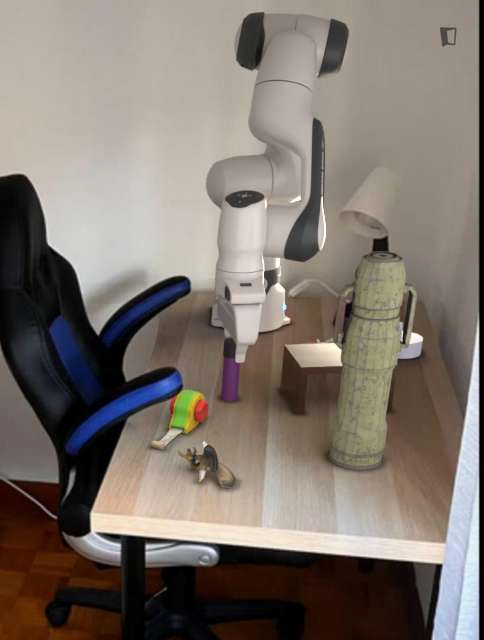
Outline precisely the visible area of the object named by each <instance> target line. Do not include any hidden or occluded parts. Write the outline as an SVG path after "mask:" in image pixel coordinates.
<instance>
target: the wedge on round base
mask: <svg viewBox="0 0 484 640" xmlns="http://www.w3.org/2000/svg"><path fill="white" fill-rule="evenodd" d="M399 323H400V328H401V341H402V342H403V340H402V337H403V329H404V321H399ZM423 341H424V337H423V336H422V335H420V334H418V333H416V332H412V333H411V338H410V342H409V346H408V348H404V349H401V352H399V353H398V359H399V360H400V359H401V360H405V359H406V360H407V359H414V358H417V357H420V356H421V353H422V347H423Z"/></svg>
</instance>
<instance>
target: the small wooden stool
mask: <svg viewBox="0 0 484 640" xmlns="http://www.w3.org/2000/svg"><path fill="white" fill-rule="evenodd" d="M341 351H342V350H340V349H339V348H338V347H337V346H336V344H335V343H334V342H331V343H323V344H302V343H301V344H300V343H298V344H297V343H295V344H294V343H293V344H284V345H283V355H282V365H281V366H282V367H281V375H280V387H279V390H280V392H281V393H282V395H283V397H284V398H285V400H286V402H287V403H288V404H289V406H290V407H291V409H292V411H293V412H294V413H295V415H304V414H305V408H306V398H307V390H308V382H309V380H308V379H309V375H336V374H337V375H338V374H340V375H341V374H342V367H343V366H342V363H341ZM398 368H399V364H398V363H397V364H396V366H395V367H394V369H393V372H392V379H391V385H390V392H389V398H388V405H387V411H386V413H389V412H392V407H393V400H394V395H395V388H396V381H397V377H398V376H397V375H398Z"/></svg>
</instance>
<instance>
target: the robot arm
mask: <svg viewBox="0 0 484 640" xmlns="http://www.w3.org/2000/svg"><path fill="white" fill-rule="evenodd" d="M233 46H234V47H233V48H234V50H233V51H234V55H235V61H236V62H237V64H238V65H239V66H240V67H241V68H243V69H246V70H249V71H251V72H253V71H254V70H255V71H257V74H256V76H255V82H254V86H253V91H252V97H251V101H250V109H249V115H248V119H247V125H248V129H249V132H250V133H251V134H252V136H253V137H254V138H256V140H258V141H260V142H261V143H263V144H265V150H264V152H263V153H261V154H250V155H249V154H247V155H234V156H231V157H227V158H224V159H221V160H218V161H215V162H214V163H213V164H212V165H211V167H210V168H209V169H208V172H207V175H206V178H205V190H206V193H207V196H208V198H209V199H210V201H211V203H213V204H214V205H215V206H216V207H218V208H219V209H220V215H219V220H218V227H217V236H216V237H217V239H216V245H217V249H218V256H217V260H216V262H215V277H214V293H215V297H214V302H215V303H216V304H213V305H212V308H211V309H212V310H211V319H210V321H211V322H210V325H211V326H213V327H219V328H223V334H224V335H223V336H224V340H225V339H227V338H233V340H234V341H235V345H236V350H235V352H234V360H235V362H237V363H240V364H241V363H245V361H246V353H247V351H248V348H249V346H254V345H255V344H256V343H257V341H258V338H259V333H264V332H265V333H266V332H271V331H275V330H277V329H279V328H281V327H282V326H285V325H288V324H291V318H290V317H288V316H287V315H286V314H285V310H287V305H286V304H285V303H286V290H285V288H284V286H282V285H281V284H280V281H281V276H282V266H281V265H280V263H281V259H284V260H287V261H293V262H298V263H305V262H307V261H310V260H311V259H313V258H314V257H315V256H317V255H318V254H319V253H321V251H322V250H323V246H324V244H325V241H326V237H327V236H326V233H327V229H326V219H325V218H326V217H325V183H326V182H325V181H326V139H325V138H326V137H325V130H324V126H323V123H322V121H321V120H320V119H318V118H317V117H315V115H314V111H313V104H312V103H313V96H314V91H315V85H316V78H318V79H324V78H325V79H326V78H332V77H334V76H335V75H336V74H338V73H339V72H340V71H341V69H342V67H343V66H344V65H345V63H346V62H347V59H348V57H349V54H350V50H351V37H350V29H349V27H348V26H347V24H346V23H345V22H343V21H341V20H338V19H335V18H330V19H327V18H323V17H319V16H315V15H311V14H310V15H309V14H306V13H305V14H304V13H297V14H294V13H272V12H271V13H265V11H258V12H252V13H249V14H247V15H246V16H244V17H243V19H242V21H241V23H240V24H239V27H238V28H237V31H236V33H235V35H234V42H233ZM296 201H299V202H298V203H297V204H294V205H289V204H291V203H294V202H296ZM286 204H288V205H286ZM224 340H223V341H224Z"/></svg>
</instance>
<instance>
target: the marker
mask: <svg viewBox="0 0 484 640" xmlns="http://www.w3.org/2000/svg"><path fill="white" fill-rule="evenodd" d="M224 339H225V338H224ZM235 350H236V345H235V341H234V340H233V338H227V339H225V340H223V351H222V356H223V361H222V362H223V363H222V375H221V376H222V378H221V381H222V382H221V391H220V392H221V393H220V399H221V401H224V402H227V403H232V402H236V401H237V400H238V396H239V383H240V369H241V363H237V362H235V360H234V352H235Z"/></svg>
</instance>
